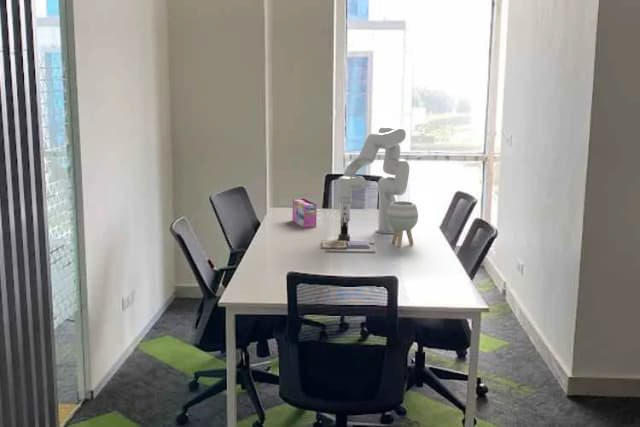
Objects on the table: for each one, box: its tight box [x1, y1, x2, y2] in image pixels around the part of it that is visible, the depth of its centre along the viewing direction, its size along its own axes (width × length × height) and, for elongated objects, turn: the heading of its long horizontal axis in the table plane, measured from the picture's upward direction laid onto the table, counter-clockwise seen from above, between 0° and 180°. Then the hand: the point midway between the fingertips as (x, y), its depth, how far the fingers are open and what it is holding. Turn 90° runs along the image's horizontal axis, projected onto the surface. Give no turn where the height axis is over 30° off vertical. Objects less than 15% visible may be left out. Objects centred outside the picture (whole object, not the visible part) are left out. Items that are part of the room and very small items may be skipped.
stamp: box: [337, 218, 351, 241], centre depth 380 cm, size 6×6×13 cm
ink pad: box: [346, 240, 370, 249], centre depth 366 cm, size 11×11×2 cm
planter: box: [387, 200, 419, 248], centre depth 367 cm, size 16×16×22 cm
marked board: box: [321, 239, 348, 250], centre depth 367 cm, size 13×16×1 cm
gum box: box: [291, 198, 318, 229], centre depth 421 cm, size 24×8×14 cm, turn 21°
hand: (344, 232), depth 381 cm, fingers open, 5 cm apart
